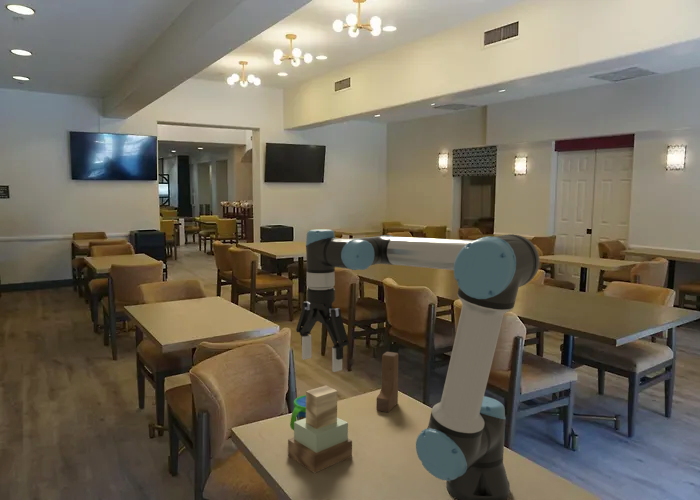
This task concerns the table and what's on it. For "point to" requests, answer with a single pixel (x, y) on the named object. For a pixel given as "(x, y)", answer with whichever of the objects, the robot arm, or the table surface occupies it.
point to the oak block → (321, 406)
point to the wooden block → (388, 382)
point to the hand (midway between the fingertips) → (321, 364)
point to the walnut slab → (319, 454)
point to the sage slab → (320, 434)
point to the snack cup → (298, 410)
